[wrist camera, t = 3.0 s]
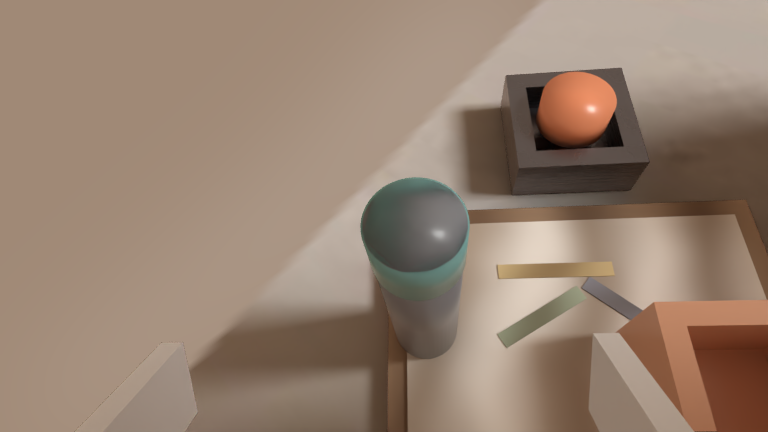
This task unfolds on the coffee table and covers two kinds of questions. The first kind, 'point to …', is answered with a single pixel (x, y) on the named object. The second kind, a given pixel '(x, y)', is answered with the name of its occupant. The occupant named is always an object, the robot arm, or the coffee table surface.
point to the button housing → (569, 165)
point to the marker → (418, 260)
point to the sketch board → (565, 307)
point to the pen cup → (707, 360)
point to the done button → (575, 109)
